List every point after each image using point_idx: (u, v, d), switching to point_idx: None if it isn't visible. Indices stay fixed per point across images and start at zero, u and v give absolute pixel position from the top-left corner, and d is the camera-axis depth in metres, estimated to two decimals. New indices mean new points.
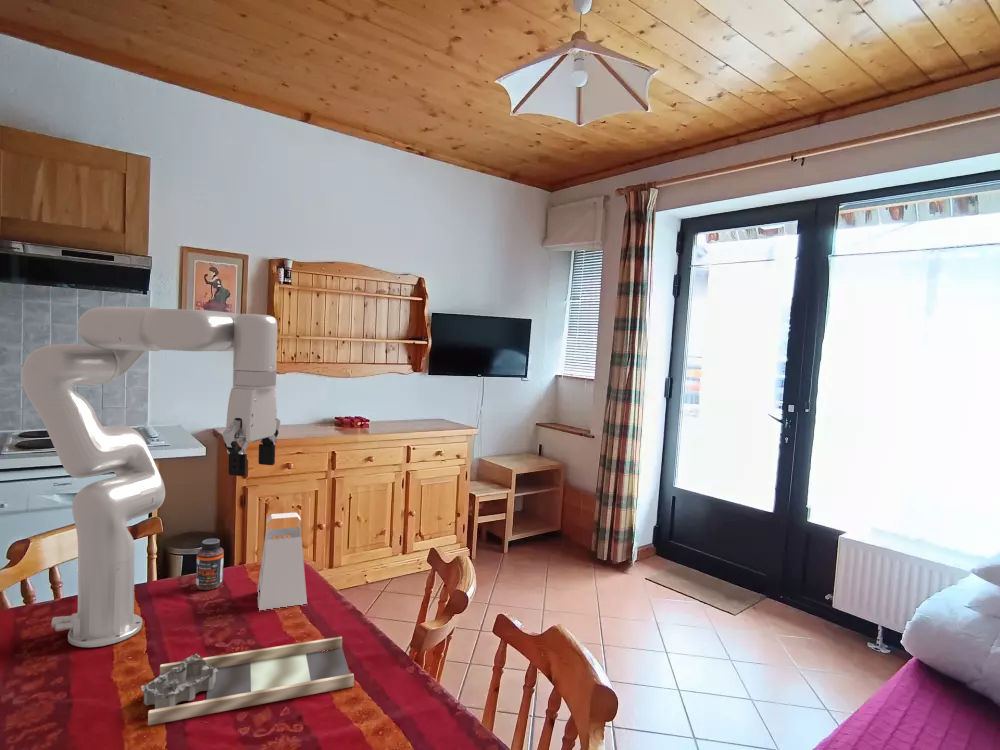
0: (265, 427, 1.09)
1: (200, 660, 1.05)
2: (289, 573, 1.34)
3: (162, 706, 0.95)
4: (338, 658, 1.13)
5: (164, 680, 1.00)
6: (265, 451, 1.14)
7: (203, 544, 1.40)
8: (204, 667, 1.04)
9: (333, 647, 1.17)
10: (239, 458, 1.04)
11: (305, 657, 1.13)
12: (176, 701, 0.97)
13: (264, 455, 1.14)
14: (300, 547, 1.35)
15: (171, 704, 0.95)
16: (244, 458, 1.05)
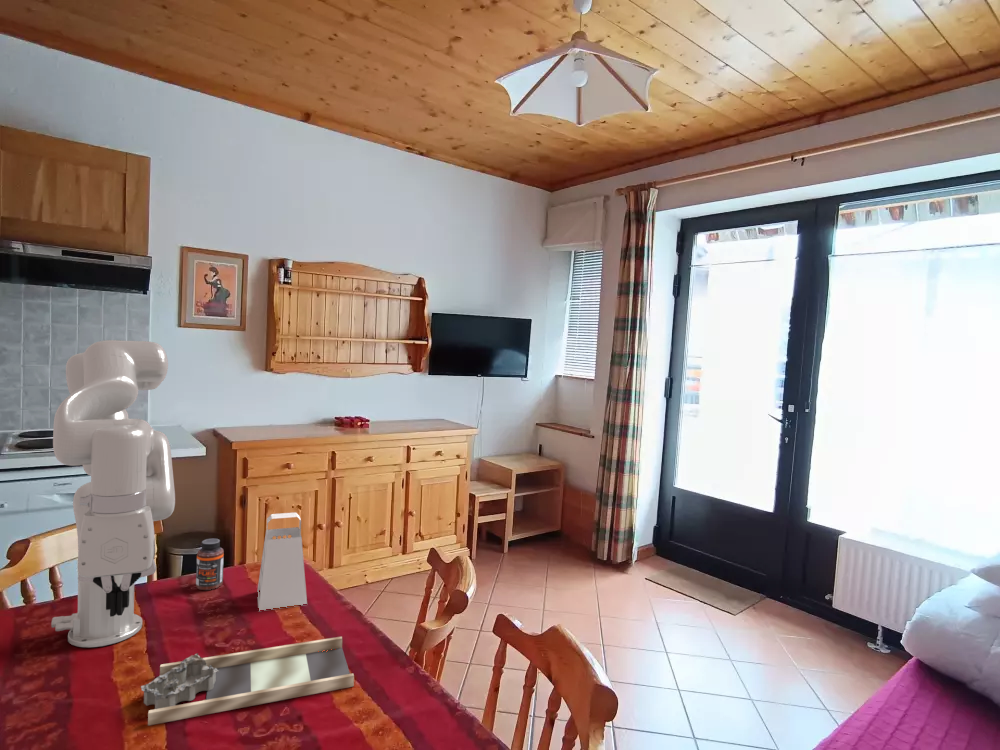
0: None
1: (200, 660, 1.05)
2: (289, 573, 1.34)
3: (162, 706, 0.95)
4: (338, 658, 1.13)
5: (164, 680, 1.00)
6: None
7: (203, 544, 1.40)
8: (204, 667, 1.04)
9: (333, 647, 1.17)
10: (127, 589, 0.96)
11: (305, 657, 1.13)
12: (176, 701, 0.97)
13: None
14: (300, 547, 1.35)
15: (171, 704, 0.95)
16: None
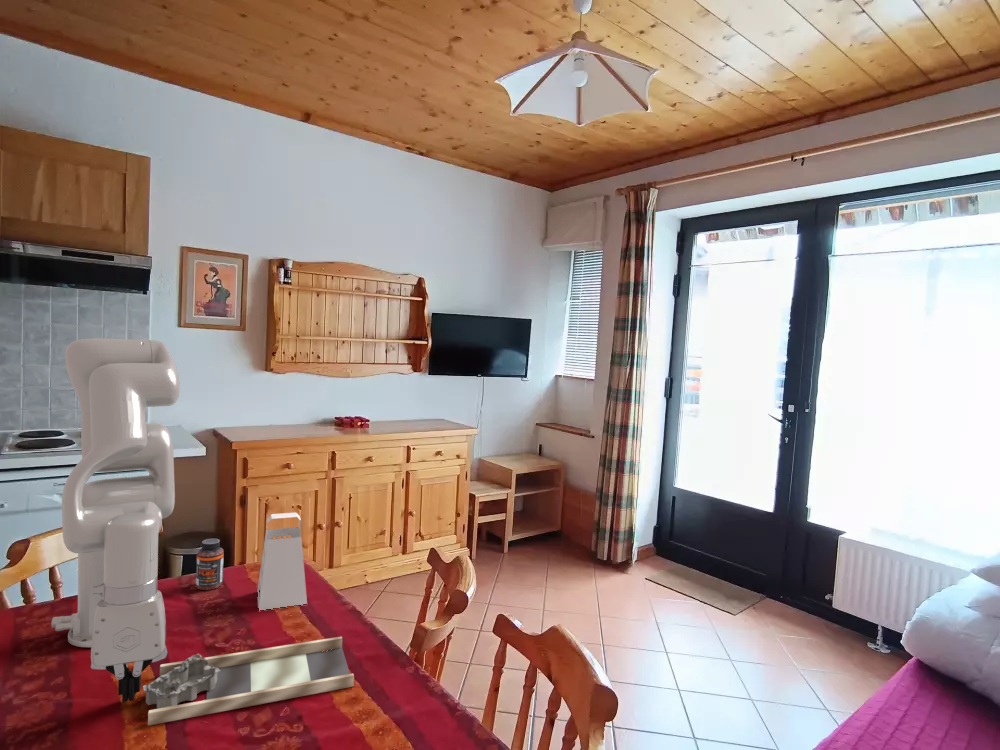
0: None
1: (202, 660, 1.05)
2: (289, 573, 1.34)
3: (164, 706, 0.95)
4: (338, 658, 1.13)
5: (166, 680, 1.00)
6: None
7: (203, 544, 1.40)
8: (206, 667, 1.04)
9: (333, 647, 1.17)
10: None
11: (305, 657, 1.13)
12: (178, 701, 0.97)
13: None
14: (300, 547, 1.35)
15: (173, 704, 0.95)
16: None
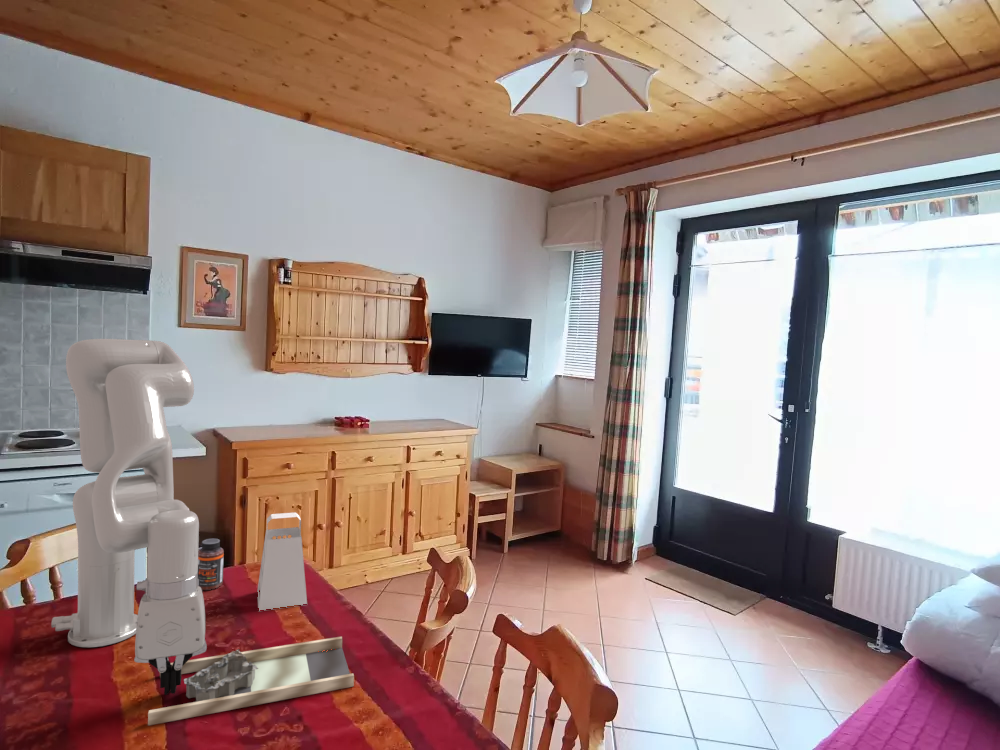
0: None
1: (241, 656, 1.07)
2: (289, 573, 1.34)
3: (202, 700, 0.97)
4: (338, 658, 1.13)
5: (206, 674, 1.02)
6: (170, 674, 0.99)
7: (203, 544, 1.40)
8: (244, 663, 1.06)
9: (333, 647, 1.17)
10: None
11: (305, 657, 1.13)
12: (216, 696, 0.99)
13: None
14: (300, 547, 1.35)
15: (211, 698, 0.97)
16: None
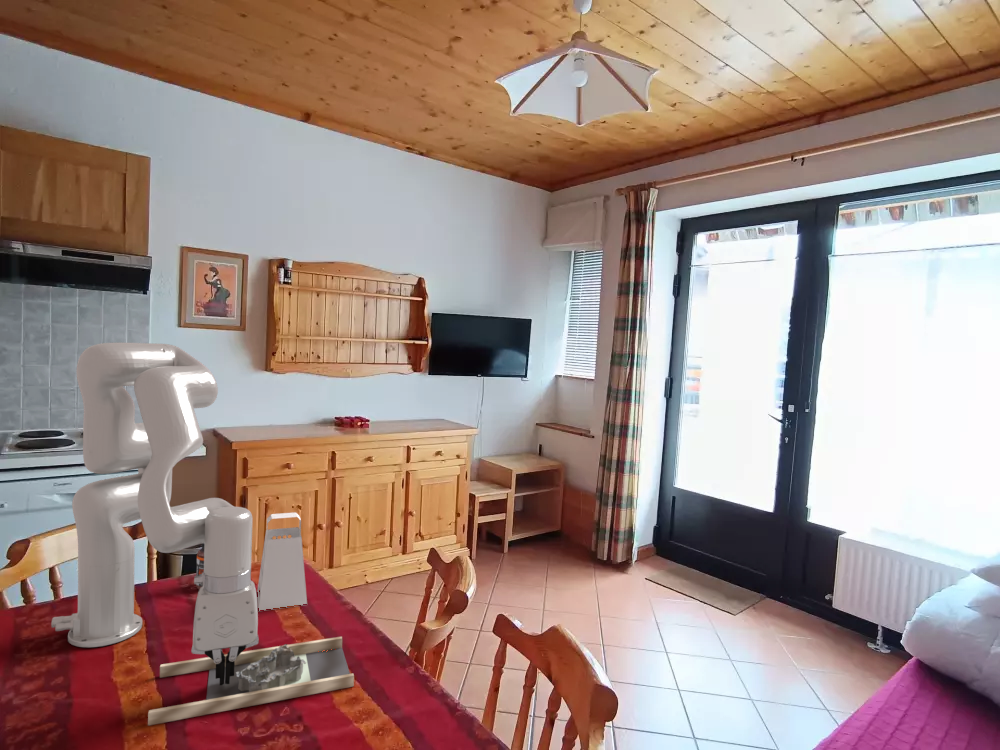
0: None
1: (288, 651, 1.09)
2: (289, 573, 1.34)
3: None
4: (338, 658, 1.13)
5: (256, 668, 1.04)
6: None
7: (203, 544, 1.40)
8: (292, 658, 1.09)
9: (333, 647, 1.17)
10: None
11: (305, 657, 1.13)
12: None
13: None
14: (300, 547, 1.35)
15: None
16: None
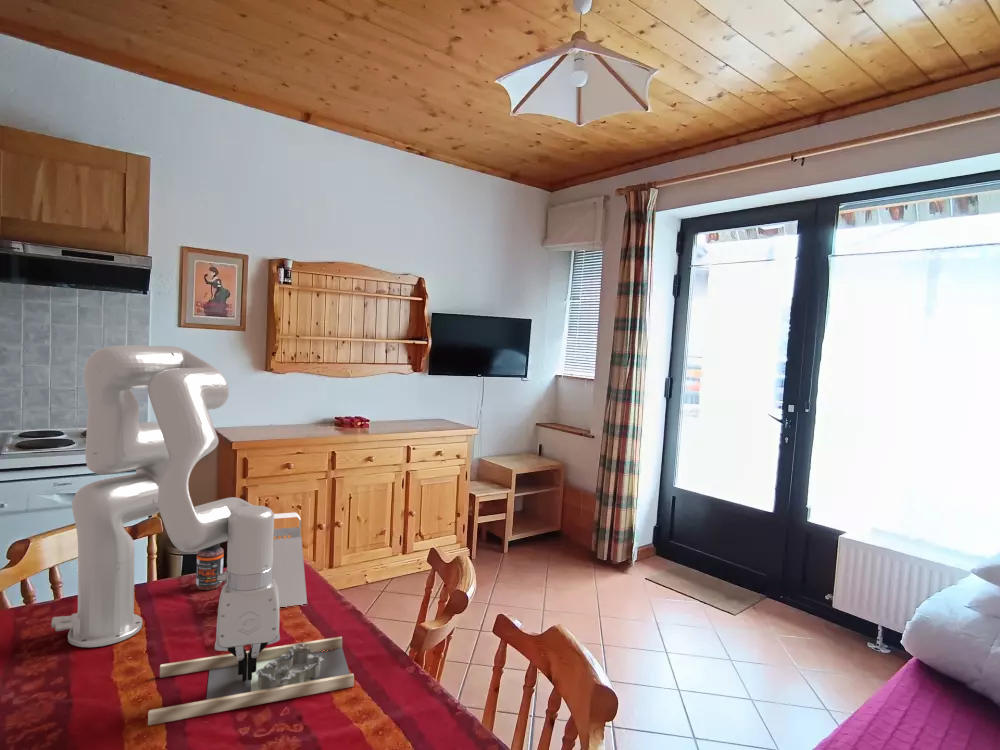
0: None
1: (305, 649, 1.10)
2: (289, 573, 1.34)
3: None
4: (338, 658, 1.13)
5: (274, 666, 1.05)
6: None
7: None
8: (309, 655, 1.10)
9: (333, 647, 1.17)
10: None
11: None
12: None
13: None
14: (300, 547, 1.35)
15: None
16: None
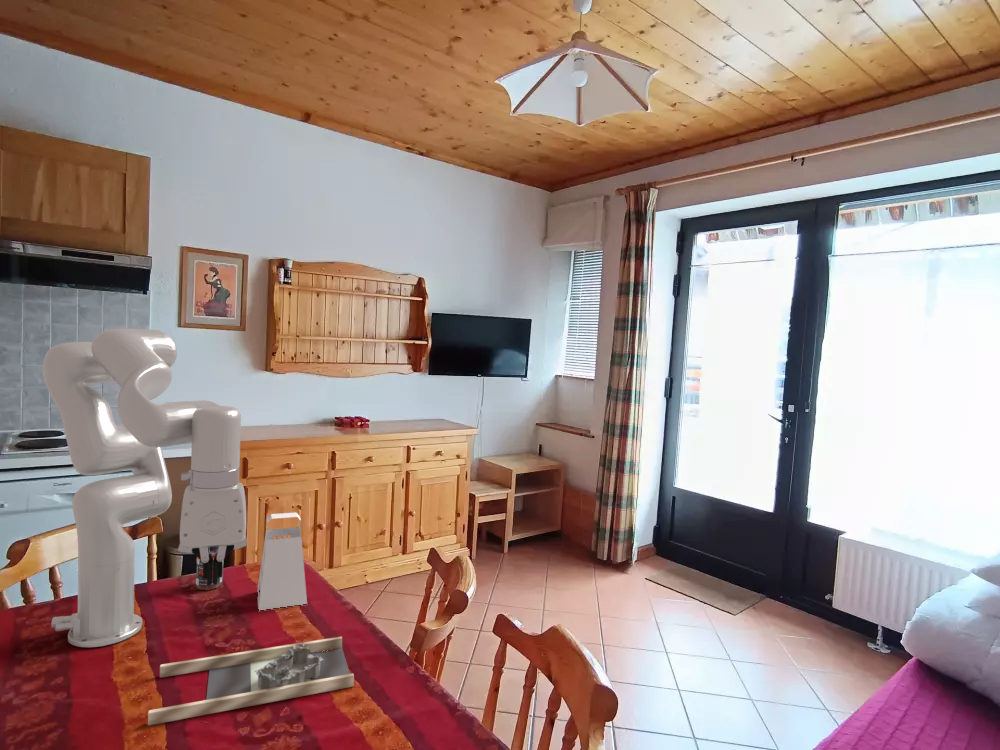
0: None
1: (305, 649, 1.10)
2: (289, 573, 1.34)
3: None
4: (338, 658, 1.13)
5: (274, 666, 1.05)
6: (212, 566, 1.01)
7: None
8: (309, 655, 1.10)
9: (333, 647, 1.17)
10: None
11: None
12: None
13: None
14: (300, 547, 1.35)
15: None
16: None
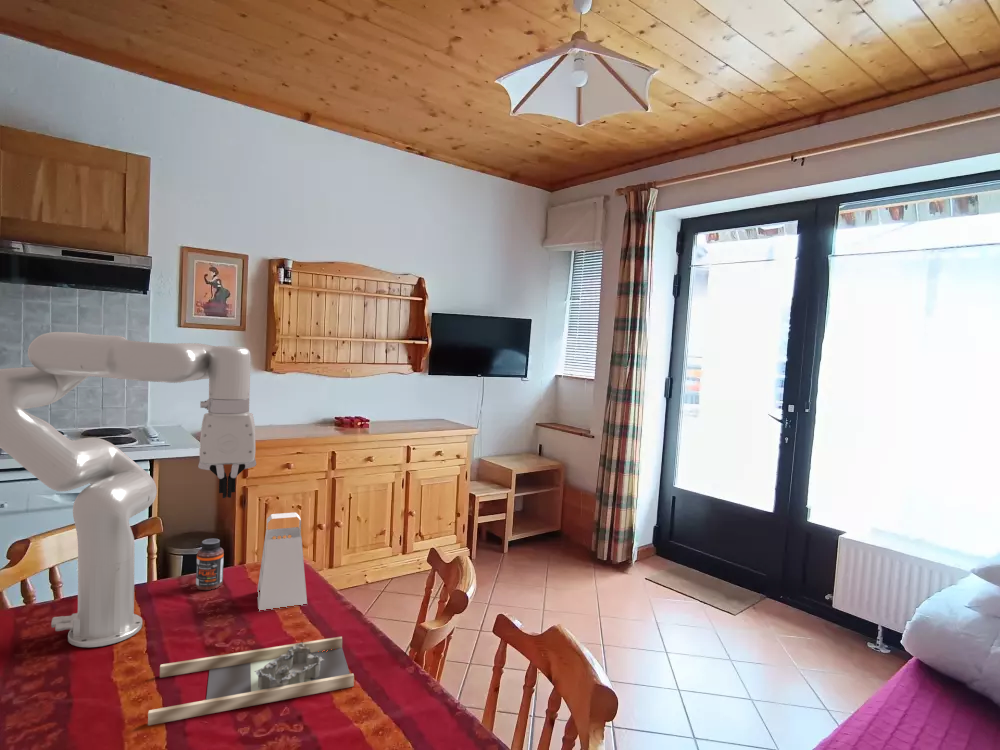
0: None
1: (305, 649, 1.10)
2: (289, 573, 1.34)
3: None
4: (338, 658, 1.13)
5: (274, 666, 1.05)
6: None
7: (203, 544, 1.40)
8: (309, 655, 1.10)
9: (333, 647, 1.17)
10: None
11: None
12: None
13: None
14: (300, 547, 1.35)
15: None
16: None
